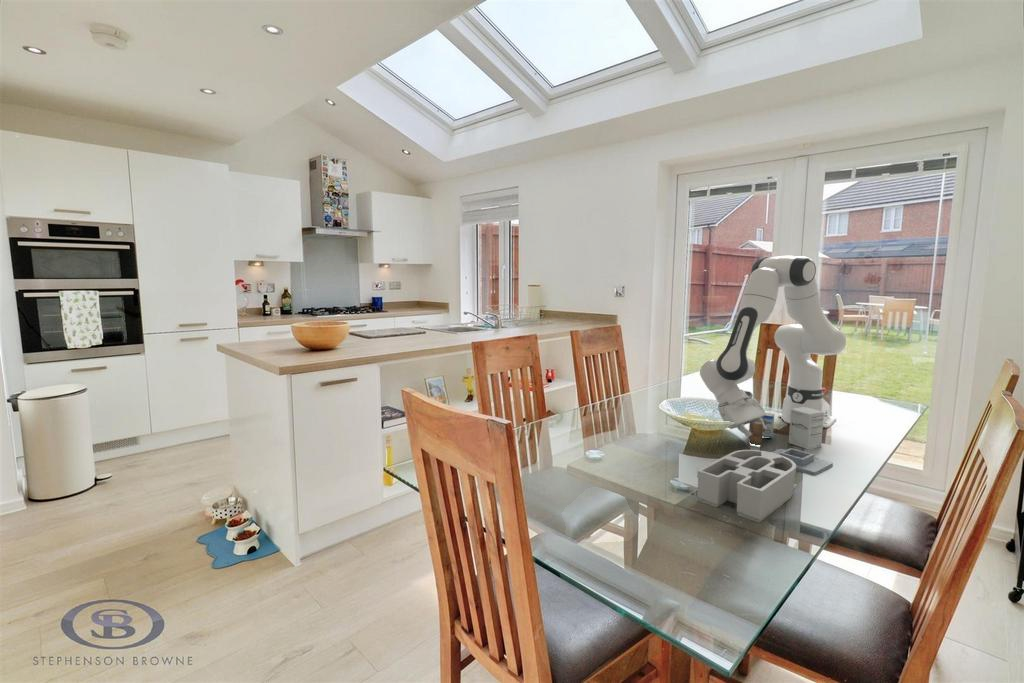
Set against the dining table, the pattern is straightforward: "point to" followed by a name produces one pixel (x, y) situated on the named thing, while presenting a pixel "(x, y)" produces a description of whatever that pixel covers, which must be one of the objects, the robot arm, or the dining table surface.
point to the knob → (756, 433)
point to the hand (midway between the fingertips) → (757, 433)
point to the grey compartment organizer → (748, 482)
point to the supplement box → (806, 427)
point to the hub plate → (805, 461)
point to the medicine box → (768, 425)
